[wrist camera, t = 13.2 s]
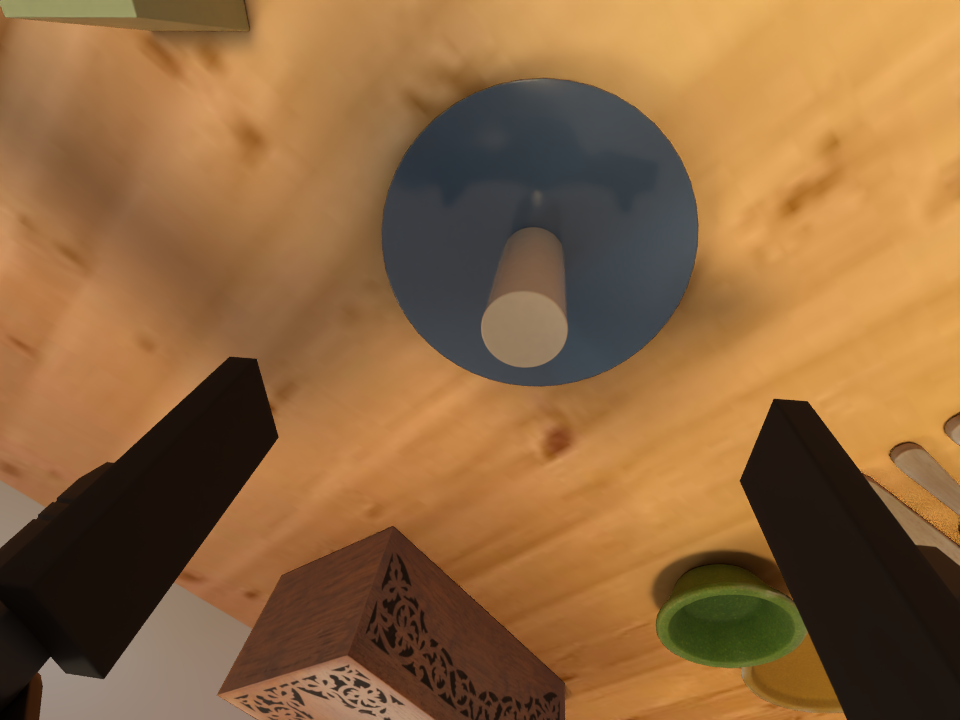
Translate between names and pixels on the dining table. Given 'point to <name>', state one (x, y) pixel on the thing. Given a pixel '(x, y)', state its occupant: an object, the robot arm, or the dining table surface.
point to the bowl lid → (540, 232)
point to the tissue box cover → (385, 646)
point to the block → (135, 13)
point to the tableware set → (785, 605)
